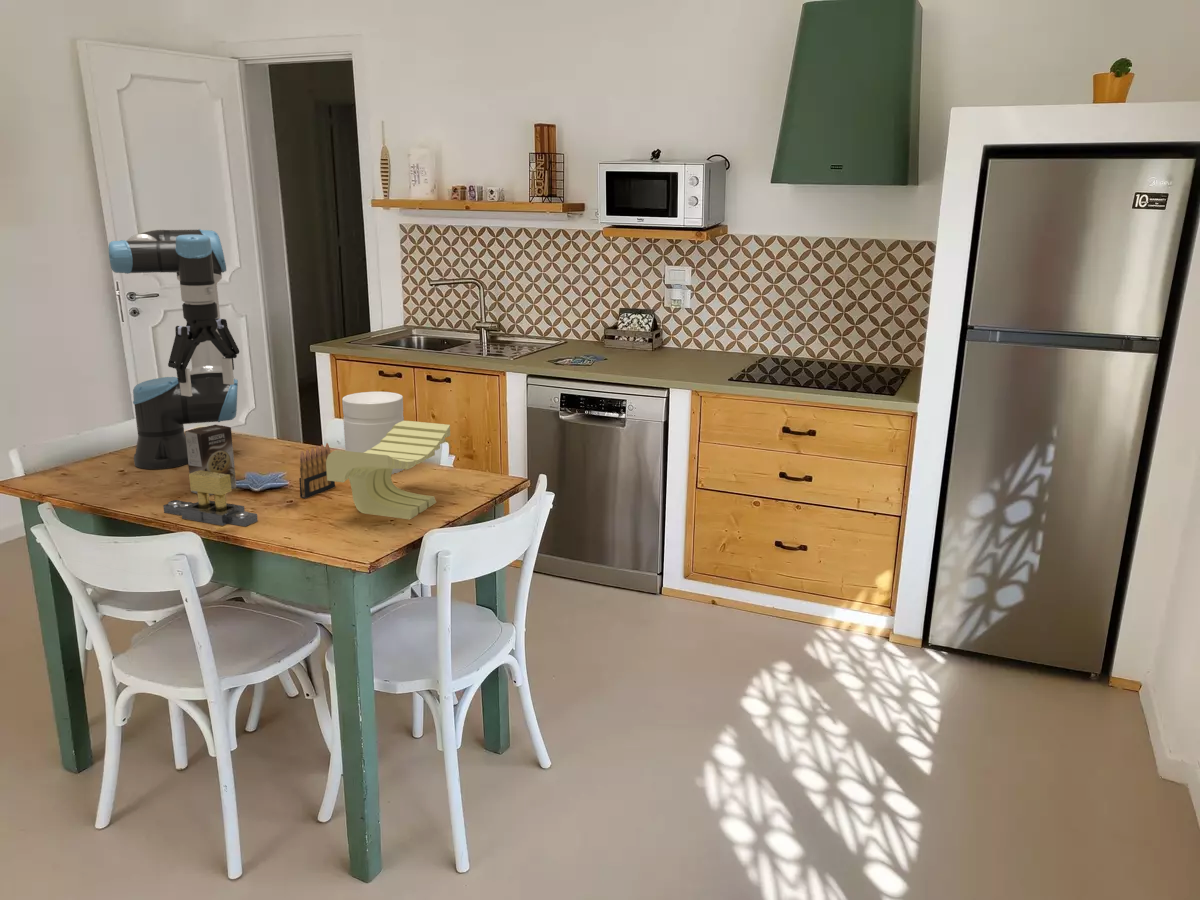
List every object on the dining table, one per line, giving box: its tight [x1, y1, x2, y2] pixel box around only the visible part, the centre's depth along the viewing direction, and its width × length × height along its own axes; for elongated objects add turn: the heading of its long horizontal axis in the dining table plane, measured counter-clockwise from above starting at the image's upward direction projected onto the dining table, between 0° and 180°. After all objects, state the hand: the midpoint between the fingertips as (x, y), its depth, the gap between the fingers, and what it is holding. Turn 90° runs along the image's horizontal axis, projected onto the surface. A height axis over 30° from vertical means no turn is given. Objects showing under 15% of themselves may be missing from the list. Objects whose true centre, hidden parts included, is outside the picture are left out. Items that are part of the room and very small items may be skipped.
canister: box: [341, 391, 405, 475], centre depth 248 cm, size 16×16×20 cm
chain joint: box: [162, 499, 259, 527], centre depth 210 cm, size 24×7×2 cm, turn 69°
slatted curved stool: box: [326, 420, 451, 520], centre depth 217 cm, size 30×16×18 cm, turn 162°
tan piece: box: [188, 470, 233, 512], centre depth 209 cm, size 9×3×10 cm, turn 69°
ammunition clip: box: [298, 442, 336, 499], centre depth 228 cm, size 11×2×12 cm, turn 154°
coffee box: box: [184, 424, 237, 496], centre depth 228 cm, size 9×6×16 cm
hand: (208, 389), depth 220 cm, fingers open, 13 cm apart
